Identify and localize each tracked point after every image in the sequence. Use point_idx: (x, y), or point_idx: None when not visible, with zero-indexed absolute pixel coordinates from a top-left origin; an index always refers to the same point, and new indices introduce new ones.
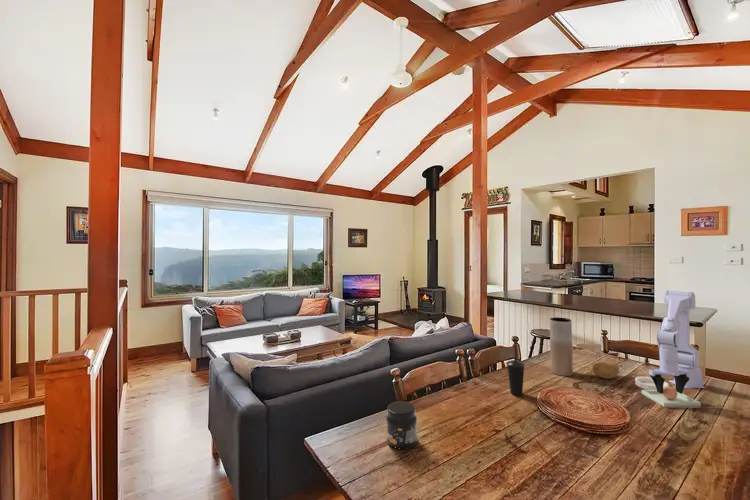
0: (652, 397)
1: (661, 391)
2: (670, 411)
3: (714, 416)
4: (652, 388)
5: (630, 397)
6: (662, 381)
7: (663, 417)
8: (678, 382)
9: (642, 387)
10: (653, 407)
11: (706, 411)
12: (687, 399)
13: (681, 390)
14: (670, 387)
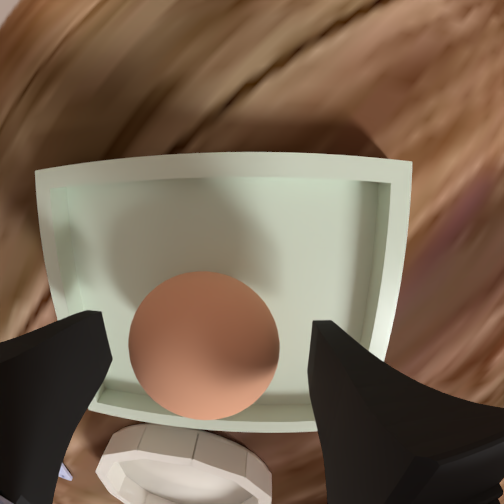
0: (390, 311)
1: (341, 328)
2: (386, 88)
3: (91, 24)
4: (225, 455)
5: (467, 347)
6: (417, 418)
7: (483, 32)
8: (43, 412)
9: (266, 471)
10: (462, 175)
11: (73, 101)
12: (76, 283)
13: (76, 320)
14: (181, 378)
